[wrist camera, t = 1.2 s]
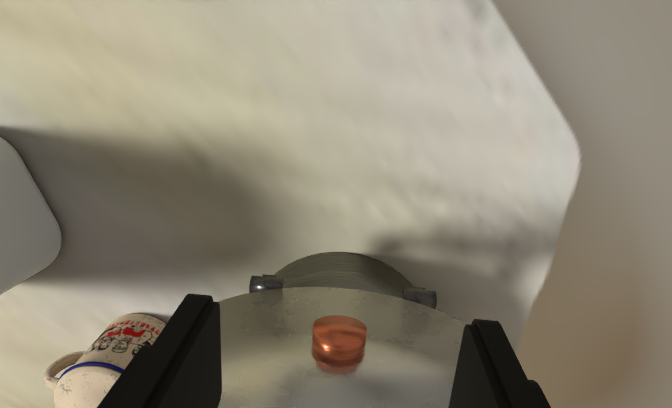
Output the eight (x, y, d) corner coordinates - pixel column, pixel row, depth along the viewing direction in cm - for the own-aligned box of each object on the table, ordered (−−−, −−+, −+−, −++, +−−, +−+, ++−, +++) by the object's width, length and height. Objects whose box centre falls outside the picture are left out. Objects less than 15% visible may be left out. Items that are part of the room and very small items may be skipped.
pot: (222, 223, 45) (182, 275, 35) (473, 244, 44) (506, 303, 34) (226, 391, 52) (194, 474, 42) (442, 412, 51) (461, 500, 41)
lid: (216, 291, 36) (216, 258, 35) (469, 313, 35) (473, 280, 35) (42, 497, 16) (40, 428, 15) (616, 555, 15) (631, 486, 15)
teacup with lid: (183, 314, 48) (130, 393, 38) (186, 381, 52) (138, 473, 41) (74, 303, 49) (-10, 379, 38) (83, 371, 52) (9, 459, 41)
